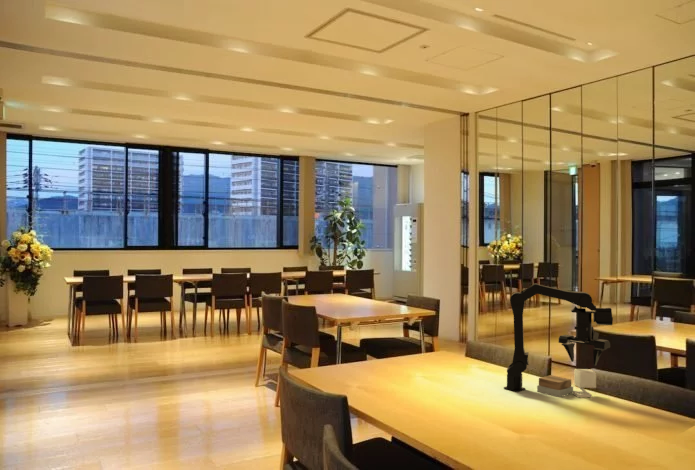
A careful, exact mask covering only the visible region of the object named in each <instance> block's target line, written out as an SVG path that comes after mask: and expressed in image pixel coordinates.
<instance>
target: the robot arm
mask: <svg viewBox="0 0 695 470" xmlns="http://www.w3.org/2000/svg"><path fill="white" fill-rule="evenodd" d="M535 295H542V296H545V297H550V298H553V299H558V300H563V301H567V302H569V303H571V304H573V305H575V306H574V307H573V308H571V309H570V312H571V313H575V326H574V330H575V336H574V335H571V334H570V335H569V334H563V335H559V337H558V343H559V344H561V346H563V347H564V349H565V351H566V353H567V355H568V356H569V359H570V361H571V362H572V363H573V362H574V361H575V349H574V348H575V344H580V345H581V344H582V345H588V346H589V345H590V346H593V347H594V348H592V350H593V351H592V354H593V355H592V357H593V361H592V362H593V366H597V364H598V362H599V359H600V357H601V355H602V353H603V352H604V351H606V350H607V349H610V348H611V341H609V340H607V339H600V338H599V334H600V333H599V332H597V331H596V330H594V326H593V324H592V323H593V322H594V323H596V324H595V325H597V326H613V322H614V320H613V319H614V317H613V311H612V310H613V309H612V307H597V306H596V305H595V304H594V303H593V298H592V296H591V295H590V294H589V293H588V292H586V291H574V290H573V291H572V290H570V291H568V290H564V289H559V288H555V287H550V286H546V285H543V284H539V283H533V284H532V285H530V286H528V287H527V288H525V289H523V290H521V291H515V292H513V293H512V294H511V296H510V297H509V298H510V299H509V302H510V306H511V311H512V315H513V338H514V341H513V342H514V350H513V357H512V362H511V363H510V364H509V365H508V366H507V369H506V373H507V374H506V386H504V387H503V390H509V391H513V392H520V391H521V392H522V391H524V390H526V387H523V372H525V371H526V370H527V367H528V366H529V365H530V362H529V361H530V360H529V352H527V351H525V347H524V346H525V343H524V339H525V338H524V316H523V315H524V309H525V303H526V301H528V300H529V299H531V298H533V297H534V296H535ZM577 306H578V307H577ZM586 308H587V309H589V310H586Z"/></svg>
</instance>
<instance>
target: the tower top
mask: <svg viewBox="0 0 695 470" xmlns="http://www.w3.org/2000/svg"><path fill="white" fill-rule="evenodd" d="M538 385H539V386H543V387H547V388H552V389H556V390H562V389H565V388H569V387H571V386H572V379H571V378H566V377H562V376H557V375H553V374H550V375H545V376H542V377H538Z"/></svg>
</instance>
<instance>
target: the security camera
mask: <svg viewBox="0 0 695 470" xmlns="http://www.w3.org/2000/svg"><path fill="white" fill-rule="evenodd" d="M573 371H574V374H573V375H574V376H573V377H574V378H573V383H574V385H575V386H576V387H577V388H579V390H573V393H572V395H573V394H574V395H573V396H575V397H576V396H577V397H576V398H578V397H592V393H590V392H589V391H587V390H586V388H587V389H588V388H592V389H593V388H594V389H597V373H596V371H595V370H592V369H591V368H590V369H589V368H575V369H574V370H573ZM584 388H585V389H584Z"/></svg>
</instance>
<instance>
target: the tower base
mask: <svg viewBox="0 0 695 470" xmlns="http://www.w3.org/2000/svg"><path fill="white" fill-rule="evenodd" d="M536 388H537V390H536V391H537V393H541V394H546V395H550V396H554V397H559V398H562V397H565V396H568V395H570V394H569V393H571V394H573V391H574V386H572V385H571V387H569V388H565V389H562V390H556V389H552V388H547V387H543V386H539V384H538V385H537V386H536ZM567 394H568V395H567ZM564 395H565V396H564ZM561 396H562V397H561Z"/></svg>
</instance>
